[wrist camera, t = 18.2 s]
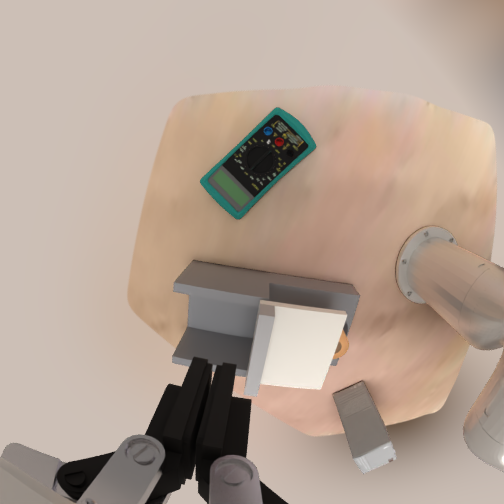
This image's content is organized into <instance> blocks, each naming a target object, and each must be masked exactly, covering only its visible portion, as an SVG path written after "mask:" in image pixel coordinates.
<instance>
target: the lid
mask: <svg viewBox="0 0 504 504" xmlns="http://www.w3.org/2000/svg"><path fill="white" fill-rule="evenodd" d="M346 318H347V313H346V312H345V311H340V310H331V309H323V308H315V307H308V306H300V305H293V304H286V303H279V302H272V301H266V300H260V304H259V309H258V315H257V321H256V326H255V332H254V337H253V343H252V348H251V353H250V359H249V364H248V369H247V375H246V382H245V390H244V395H249V396H256V397H257V394H258V390H259V386H260V384H265V385H273V386H283V387H293V388H305V389H320V390H321V387H322V385H323V382H324V380H325V377H326V375H327V372H328V369H329V367H330V364H331V361H332V359H333V356H334V353H335V350H336V348H337V345H338V342H339V339H340V336H341V333H342V330H343V327H344V324H345V321H346Z"/></svg>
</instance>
